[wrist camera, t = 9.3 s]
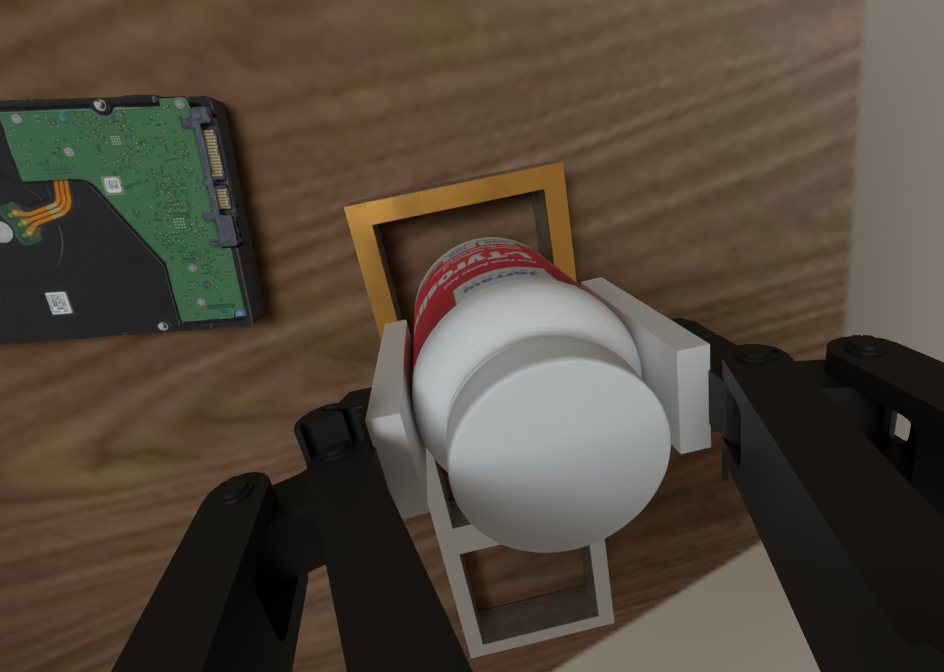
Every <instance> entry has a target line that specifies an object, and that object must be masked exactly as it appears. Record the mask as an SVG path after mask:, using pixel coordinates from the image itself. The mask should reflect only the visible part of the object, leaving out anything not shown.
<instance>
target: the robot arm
mask: <svg viewBox="0 0 944 672" xmlns="http://www.w3.org/2000/svg"><path fill="white" fill-rule="evenodd" d="M581 286H582V287H584V288H585V289H586V290H588V291H589V292H590V293H592V294H593V295H594V296H596V297H597V298H598V299H599V300H601V301H602V302H603V303H604V304H605V305H606V306H607V307H609V308H610V309H611V310H612V311H613V312H614V313H615V314H616V315H617V316H618V318H619V319H620V320H621V322H622V323H623V324H624V326H625V327H626V328H627V330H628V332H629V334H630V335H631V337H632V339H633V341H634V344H635V346H636V348H637V352H638V355H639V358H640V363H641V368H642V379H643V381H644V382H645V383H646V384H647V385H648V386H649V387H650V388H651V389H652V390H653V392H654V393H655V394H656V396H657V397H658V399H659V401H660V402H661V404H662V406H663V408H664V411H665V413H666V416H667V418H668V422H669V427H670V432H671V444H672V445H673V446H674V447H675V449H676V450H677V451H678V452H679V453H680V454H684V453H688V452H693V451H697V450H701V449H706V448H710V447H711V426H712V427H713V428H714V429H715V430H717V431H718V432H719V433H720V434H721V435H722V480H728V473H729V472H731V474H732V476H733V478H734V480H735V483H736V485H737V487H738V489H739V492H740V494H741V496H742V498H743V500H744V503H745V505H746V507H747V509H748V512H749V514H750V516H751V518H752V520H753V523H754V525H755V527H756V529H757V531H758V534H759V536H760V538H761V540H762V543H763V545H764V547H765V549H766V551H767V554H768V556H769V558H770V560H771V563H772V565H773V567H774V569H775V571H776V574H777V576H778V578H779V580H780V582H781V585H782V587H783V589H784V591H785V594H786V596H787V598H788V600H789V602H790V605H791V607H792V609H793V611H794V614H795V616H796V618H797V620H798V622H799V625H800V627H801V629H802V631H803V633H804V636H805V638H806V640H807V643H808V644H809V647H810V649H811V651H812V654H813V656H814V658H815V660H816V663H817V665H818V667H819V669H820V671H821V672H944V363H943V362H941V361H939V360H936V359H934V358H932V357H929V356H927V355H925V354H922V353H920V352H917V351H914V350H912V349H910V348H908V347H906V346H903V345H901V344H898V343H896V342H892V341H889V340H886V339H882V338H875V337H873V336H869V335H863V336H861V335H853V336H851V337H841V338H838V339H835V340H832V341H831V342H829V343H828V344H827V351H826V360H810V361H794V360H793V359H792V358H791V357H790V356H789V355H788V354H787V353H786V352H784V351H782V350H781V349H778V348H776V347H772V346H766V345H759V344H745V345H739V346H737V345H735V344H733V343H732V342H730V341H728V340H726V339H725V338H723V337H721V336H719V335H716V333H714V332H712V331H710V330H709V329H708V330H707V328H705V327H703V326H702V325H700V324H698V323H696V322H694V321H689V320H685V319H681V318H677V319H672V320H670V319H668V318H667V317H665V316H664V315H662V314H660V313H659V312H657V311H656V310H654V309H652V308H651V307H649V306H647V305H646V304H644V303H643V302H641V301H639V300H638V299H636V298H634V297H633V296H631V295H630V294H628V293H626V292H625V291H623V290H621V289H620V288H618V287H617V286H615V285H613V284H612V283H610V282H608V281H607V280H605V279H604V278H602V277H601V278H596V279H592V280H587V281H582V282H581ZM412 372H413V343H412V339H411V335H410V331H409V327H408V323H407V320H402V321H398V322H393V323H389V324H385V326H384V331H383V336H382V341H381V346H380V351H379V356H378V361H377V365H376V370H375V375H374V380H373V385H372V387H370V388H366V389H361V390H357V391H352V392H349V393H348V394H347V395H346V396H345V397H344V398H343V399H342V400H341V401H340V402H339V403H334V404H329V405H326V406H322V407H320V408H317V409H315V410H313V411H311V412H309V413H307V414H306V415H304V416H303V417H301V418H300V420H299V421H298V422H297V423H296V424H295V427H294V432H295V435H296V438H297V440H298V443H299V445H300V448H301V451H302V453H303V456H304V459H305V461H306V465H307V469H306V470H305V471H303V472H301V473H299V474H297V475H295V476H293V477H291V478H289V479H286V480H284V481H282V482H279V483H277V484H274V485H272V484H271V482H270V479H269V477H268V476H267V475H266V474H265V473H260V472H251V473H245V474H242V475H239V476H234V477H232V478H230V479H228V481H224V482H223V483H221V484H220V485H219V486H218V487H216V488H215V489H214V490H213V491H211V492H210V493H209V494H208V495H207V497H206V498H205V499H204V501H203V502H202V504H201V506H200V508H199V509H198V511H197V513H196V515H195V517H194V519H193V520H192V522H191V524H190V526H189V528H188V530H187V532H186V533H185V535H184V537H183V539H182V541H181V543H180V545H179V546H178V548H177V550H176V552H175V554H174V556H173V558H172V559H171V561H170V563H169V565H168V567H167V569H166V571H165V572H164V574H163V576H162V578H161V580H160V582H159V584H158V585H157V587H156V589H155V591H154V593H153V595H152V597H151V598H150V600H149V602H148V604H147V606H146V608H145V610H144V611H143V613H142V615H141V617H140V619H139V621H138V623H137V624H136V626H135V628H134V630H133V632H132V634H131V636H130V637H129V639H128V641H127V643H126V645H125V647H124V649H123V650H122V652H121V654H120V656H119V658H118V660H117V662H116V663H115V665H114V667H113V669H112V671H111V672H292V668H293V662H294V656H295V651H296V645H297V639H298V634H299V628H300V622H301V617H302V611H303V605H304V600H305V594H306V589H307V583H308V572H310V571H312V570H314V569H316V568H318V567H321V566H323V565H325V564H326V567H327V572H328V577H329V582H330V587H331V592H332V597H333V602H334V607H335V612H336V618H337V623H338V628H339V633H340V638H341V643H342V648H343V653H344V658H345V663H346V668H347V672H473V671H472V669H471V667H470V665H469V663H468V661H467V658H466V656H465V654H464V652H463V650H462V648H461V645H460V643H459V641H458V639H457V637H456V635H455V632H454V630H453V628H452V626H451V624H450V622H449V619H448V617H447V615H446V613H445V611H444V609H443V606H442V604H441V602H440V600H439V598H438V596H437V593H436V591H435V589H434V587H433V585H432V583H431V580H430V578H429V576H428V574H427V572H426V570H425V567H424V565H423V563H422V561H421V559H420V557H419V554H418V552H417V550H416V548H415V546H414V544H413V541H412V539H411V537H410V535H409V533H408V531H407V528H406V526H405V524H404V522H403V520H402V519H403V518H407V517H412V516H416V515H420V514H425V513H428V499H427V466H426V446H425V444H424V442H423V440H422V438H421V436H420V433H419V431H418V428H417V425H416V422H415V417H414V412H413V403H412ZM897 413H899V414H901V415H903V416H904V417H905V418H907V419H908V420H909V421H910V423H911V428H910V434H909V438H908V440H907V441H905V440H903V439H901V438H899V437H898V436H896V435H895V434H894V433H895V426H896V419H897Z"/></svg>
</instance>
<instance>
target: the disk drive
mask: <svg viewBox="0 0 944 672" xmlns="http://www.w3.org/2000/svg"><path fill="white" fill-rule="evenodd" d="M264 312H265V304H264V299H263V294H262V289H261V286H260V280H259V274H258V269H257V264H256V259H255V254H254V248H253V243H252V238H251V234H250V228H249V225H248V222H247V217H246V212H245V207H244V199H243V194H242V189H241V184H240V179H239V174H238V169H237V164H236V160H235V155H234V149H233V145H232V141H231V135H230V130H229V125H228V120H227V114H226V109H225V105H224V104H223V103H222V102H220V101H218V100H215V99H213V98H210V97H208V96H200V97H196V96H195V97H185V96H181V97H160V96H156V95H131V96H127V95H126V96H123V97H112V98H107V97H106V98H100V97H97V98H81V99H79V98H75V99H45V100H44V99H33V100H13V101H11V100H6V101H0V344H9V343H25V342H33V341H35V342H36V341H47V340H62V339H77V338H84V337H98V336H99V337H103V336H109V335H122V334H130V335H132V334H140V333H158V332H168V331H175V330H177V331H179V330H182V331H185V330H187V331H189V330H203V329H204V330H208V329H213V328H216V327H233V326H241V325H250V324H253V322H255V321H256V320H257V319H258V318H259V317H260V316H261V315H262V314H263V313H264Z"/></svg>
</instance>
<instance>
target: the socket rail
mask: <svg viewBox="0 0 944 672" xmlns="http://www.w3.org/2000/svg"><path fill="white" fill-rule="evenodd" d="M527 192H531V194H532V202H533V209H534V216H535V223H536V230H537V237H538V244H539V252H540V255H542V256H543V257H544V258H546V259H547V260H548V261H550V262H551V263H552V264H553V265H555V266H556V267H557V268H559V269H560V270H561V271H563V272H564V273H565V274H567V275H568V276H569V277H571V278H572V279H573V280H574V281H576V272H575V263H574V254H573V246H572V237H571V228H570V219H569V211H568V202H567V193H566V184H565V176H564V167H563V162H544V163H539V164H535V165H530V166H525V167H520V168H515V169H510V170H506V171H501V172H496V173H491V174H486V175H481V176H477V177H472V178H467V179H462V180H457V181H452V182H448V183H443V184H438V185H433V186H428V187H424V188H419V189H414V190H409V191H404V192H399V193H395V194H390V195H385V196H380V197H375V198H370V199H366V200H361V201H356V202H351V203H350V204H348V205H346V206H345V207H344V210H345V213H346V217H347V220H348V224H349V227H350V231H351V235H352V238H353V242H354V245H355V249H356V252H357V256H358V260H359V263H360V267H361V270H362V274H363V277H364V281H365V285H366V288H367V292H368V295H369V299H370V302H371V306H372V310H373V313H374V317H375V320H376V324H377V327H378V331H379V334H380V338H381V341H382V336H383V331H384V326H385V324H389V323H393V322H398V321H402V320H403V318H402V315H401V311H400V307H399V303H398V299H397V295H396V291H395V287H394V284H393V280H392V276H391V272H390V268H389V264H388V260H387V256H386V253H385V249H384V245H383V241H382V237H381V233H380V229H379V225H378V224H379V223H384V222H389V221H394V220H398V219H403V218H408V217H413V216H418V215H422V214H427V213H432V212H437V211H441V210H446V209H451V208H456V207H461V206H465V205H470V204H475V203H480V202H484V201H489V200H494V199H499V198H504V197H508V196H513V195H518V194H523V193H527ZM576 282H577V281H576ZM426 466H427V499H428V506H429V510H430V513H431V517H432V521H433V524H434V528H435V531H436V535H437V539H438V542H439V546H440V549H441V553H442V556H443V560H444V564H445V567H446V571H447V574H448V578H449V581H450V585H451V589H452V592H453V596H454V599H455V603H456V606H457V610H458V614H459V617H460V621H461V624H462V628H463V632H464V635H465V639H466V642H467V646H468V649H469V653H470V657H471V659H472V658H476V657H480V656H484V655H488V654H492V653H496V652H500V651H504V650H508V649H512V648H516V647H520V646H524V645H528V644H532V643H536V642H540V641H544V640H548V639H552V638H556V637H560V636H564V635H568V634H572V633H576V632H580V631H584V630H588V629H592V628H596V627H600V626H604V625H608V624H612V623H614V615H613V606H612V598H611V589H610V580H609V572H608V563H607V555H606V546H605V539H603V540H600V541H598V542H596V543H593V544H590V545H587V546H584V547H581V551H582V558H583V565H584V572H585V579H586V585H585V586H581V587H577V588H573V589H569V590H565V591H561V592H557V593H553V594H549V595H544V596H540V597H536V598H532V599H528V600H524V601H520V602H516V603H512V604H508V605H504V606H499V607H495V608H491V609H487V610H483V611H479V612H478V609H477V605H476V601H475V597H474V593H473V590H472V586H471V582H470V578H469V574H468V570H467V566H466V562H465V559H464V555H463V553H467V552H471V551H475V550H479V549H484V548H488V547H492V546H496V545H500V543H498V542H496V541H494V540H492V539H491V538H489V537H487V536H485V535H484V534H483V533H481V532H480V531H479V530H478V529H477V528H475V527H474V526H473V525H472V524H471V523H470V522H469V521H468V520H467V518H466V517H465V516H464V514H463V513H462V511H461V510H460V508H459V507H458V505H457V503H456V501H455V500H451V501H449V497H448V493H447V489H446V485H445V481H444V477H443V473H442V470H441V466H440V464H439V463H438V462H437V461H436V460H435V459H434V458H433V456H432V455H431V454H430V452H429V450H428V449H427V447H426Z"/></svg>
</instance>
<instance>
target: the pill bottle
mask: <svg viewBox="0 0 944 672" xmlns="http://www.w3.org/2000/svg"><path fill="white" fill-rule="evenodd" d="M412 403H413V412H414V417H415V422H416V425H417V428H418V431H419V433H420V436H421V438H422V440H423V442H424V444H425V446H426V447H427V449H428V450H429V452H430V454H431V455H432V456H433V458H434V459H435V460H436V461H437V462H438V463H439V464H440V465H441V467H442V468H443V469H444V470H446V471H447V472H448V477H449V483H450V487H451V490H452V494H453V496H454V499H455V501H456V503H457V505H458V507H459V508H460V510H461V511H462V513H463V514H464V516H465V517H466V518H467V520H468V521H469V522H470V523H471V524H472V525H473V526H474V527H475V528H477V529H478V530H479V531H480V532H481V533H483V534H484V535H485V536H487V537H489V538H491V539H492V540H494V541H496V542H498V543H500V544H502V545H505V546H508V547H510V548H514V549H518V550H523V551H530V552H538V553H547V552H562V551H569V550H574V549H578V548H581V547H584V546H587V545H590V544H593V543H596V542H598V541H600V540H603V539H605V538H607V537H609V536H610V535H612V534H614V533H615V532H617V531H618V530H619V529H621V528H622V527H624V526H625V525H626V524H628V523H629V522H630V521H631V520H632V519H634V518H635V517H636V516H637V515H638V514H639V513H640V512H641V511H642V510H643V509H644V508H645V506H646V505H647V504H648V503H649V501H650V500H651V499H652V497H653V496H654V494H655V492H656V491H657V489H658V488H659V486H660V484H661V482H662V480H663V478H664V475H665V473H666V470H667V467H668V462H669V457H670V451H671V432H670V427H669V422H668V418H667V416H666V413H665V411H664V408H663V406H662V404H661V402H660V401H659V399H658V397H657V396H656V394H655V393H654V392H653V390H652V389H651V388H650V387H649V386H648V385H647V384H646V383H645V382H644V381H643V379H642V368H641V363H640V358H639V355H638V352H637V348H636V346H635V344H634V341H633V339H632V337H631V335H630V334H629V332H628V330H627V328H626V327H625V326H624V324H623V323H622V322H621V320H620V319H619V318H618V316H617V315H616V314H615V313H614V312H613V311H612V310H611V309H610V308H609V307H607V306H606V305H605V304H604V303H603V302H602V301H601V300H599V299H598V298H597V297H596V296H594V295H593V294H592V293H590V292H589V291H588V290H586V289H585V288H584V287H582V286H581V285H580V284H578V283H577V282H576V281H574V280H573V279H572V278H571V277H569V276H568V275H567V274H565V273H564V272H563V271H561V270H560V269H559V268H557V267H556V266H555V265H553V264H552V263H551V262H550V261H548V260H547V259H546V258H544V257H543V256H542V255H540V254H539V253H538V252H536V251H535V250H533V249H531V248H530V247H528V246H526V245H524V244H522V243H519V242H517V241H514V240H509V239H505V238H496V237H490V238H479V239H474V240H471V241H467V242H465V243H462V244H460V245H458V246H456V247H454V248H453V249H451V250H449V251H448V252H447V253H445V254H444V255H443V256H441V257H440V258H439V259H438V260H437V261H436V262H435V263H434V264H433V265H432V267H431V268H430V269H429V271H428V272H427V274H426V275H425V277H424V279H423V281H422V283H421V285H420V288H419V290H418V294H417V298H416V303H415V313H414V337H413V372H412Z"/></svg>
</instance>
